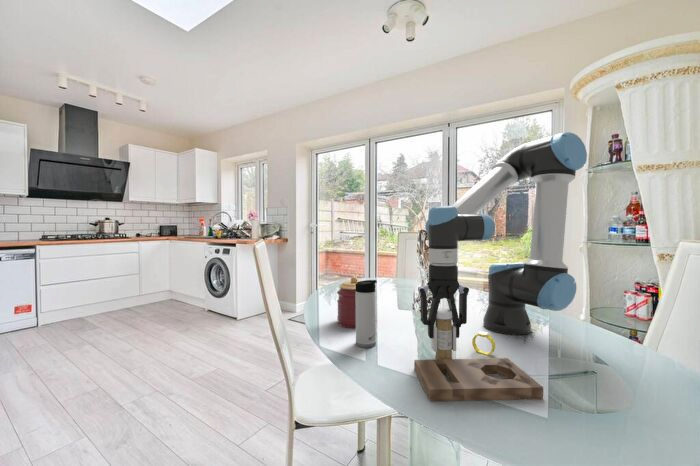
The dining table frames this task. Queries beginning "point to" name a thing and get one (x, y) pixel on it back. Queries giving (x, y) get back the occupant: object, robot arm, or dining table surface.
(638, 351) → the dining table surface
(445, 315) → the sprinkles bottle
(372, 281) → the travel mug
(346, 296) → the canister
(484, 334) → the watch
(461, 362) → the socket plate
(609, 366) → the dining table surface
